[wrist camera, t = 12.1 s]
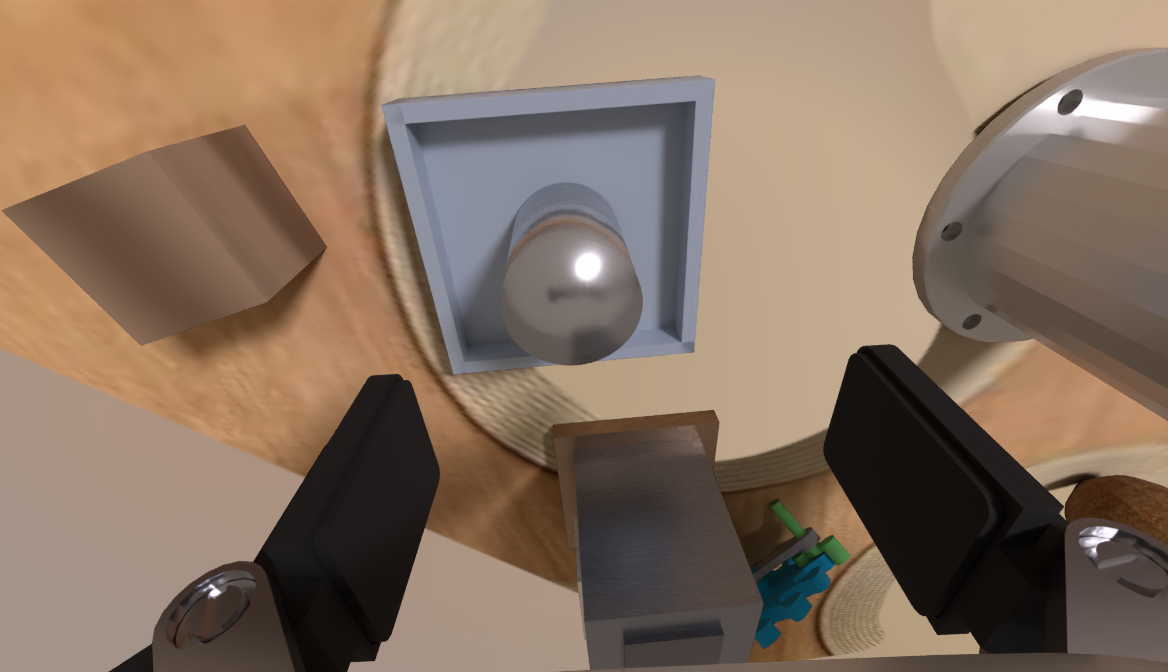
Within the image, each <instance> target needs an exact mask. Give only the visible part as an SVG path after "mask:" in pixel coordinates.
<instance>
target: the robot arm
mask: <svg viewBox="0 0 1168 672" xmlns="http://www.w3.org/2000/svg"><path fill="white" fill-rule="evenodd" d="M912 259H913V280H914V284H915V287H916V290H917V294H918V297H919V299H920V300H921V302H922V303H923V305H924V306H925V308H926V309H927V311H928V312H929V313H930V314H931V315H933V316H934V317H935V318H936V319H938V321H940V322H941V323H942V324H944V325H945V326H946V327H948V328H949V329H951V330H952V331H954V332H955V333H957V334H959V335H961V336H964V337H968V338H971V339H974V340H978V341H985V342H997V343H1004V342H1015V341H1025V340H1029V339H1035V340H1037V341H1038V342H1040V343H1042V344H1043V345H1045V346H1046V347H1048V348H1050V349H1051V350H1053V351H1055V352H1056V353H1058V354H1059V355H1061V356H1063V357H1064V358H1066V359H1068V360H1069V361H1071V362H1072V363H1074V364H1076V365H1077V366H1079V367H1081V368H1082V369H1084V370H1086V371H1087V372H1089V373H1090V374H1092V375H1094V376H1095V377H1097V378H1099V379H1100V380H1102V381H1103V382H1105V383H1107V384H1108V385H1110V386H1112V387H1113V388H1115V389H1116V390H1118V391H1120V392H1121V393H1123V394H1125V395H1126V396H1128V397H1129V398H1131V399H1133V400H1134V401H1136V402H1138V403H1139V404H1141V405H1142V406H1144V407H1146V408H1147V409H1149V410H1151V411H1152V412H1154V413H1156V414H1157V415H1159V416H1160V417H1162V418H1164V419H1165V420H1167V421H1168V48H1144V49H1131V50H1122V51H1119V52H1115V53H1111V54H1108V55H1104V56H1101V57H1097V58H1094V59H1090V60H1088V61H1086V62H1083V63H1081V64H1079V65H1077V66H1075V67H1072V68H1070V69H1068V70H1066V71H1064V72H1062V73H1059V74H1057V75H1055V76H1053V77H1052V78H1050V79H1049V80H1047V81H1046V82H1044V83H1042V84H1041V85H1039V86H1038V87H1036V88H1034V89H1033V90H1031V91H1030V92H1028V93H1027V94H1025V95H1023V96H1022V97H1021V98H1019V99H1018V100H1017V101H1016V102H1014V103H1013V104H1012V105H1011V106H1010V107H1008V108H1007V109H1006V110H1005V111H1003V112H1002V113H1001V114H1000V115H999V116H997V117H996V118H995V119H994V120H992V121H991V122H990V123H989V124H988V125H987V126H986V127H985V128H984V129H983V131H982V132H981V133H980V134H979V135H978V136H977V137H976V138H975V139H974V140H973V141H972V142H971V143H970V144H969V145H968V146H967V147H966V148H965V149H964V151H963V152H962V153H961V155H960V156H959V157H958V159H957V160H956V161H955V163H954V164H953V165H952V167H951V168H950V169H949V171H948V172H947V173H946V175H945V176H944V177H943V179H942V181H941V182H940V184H939V186H938V188H937V190H936V191H935V193H934V195H933V197H932V198H931V200H930V202H929V204H928V205H927V208H926V211H925V213H924V216H923V218H922V221H921V224H920V226H919V229H918V232H917V236H916V241H915V246H914V252H913V257H912ZM823 451H824V456H825V459H826V461H827V463H828V465H829V467H830V468H831V470H832V472H833V474H834V475H835V477H836V479H837V480H838V482H839V484H840V485H841V487H842V489H843V490H844V492H845V494H846V495H847V497H848V499H849V500H850V502H851V504H852V506H853V507H854V509H855V511H856V512H857V514H858V516H859V517H860V519H861V521H862V522H863V524H864V526H865V527H866V529H867V531H868V532H869V534H870V536H871V538H872V539H873V541H874V543H875V544H876V546H877V548H878V549H879V551H880V553H881V554H882V556H883V558H884V559H885V561H886V563H887V564H888V566H889V568H890V570H891V571H892V573H893V575H894V576H895V578H896V580H897V581H898V583H899V584H900V586H901V588H902V590H903V591H904V593H905V595H906V596H907V598H908V600H909V601H910V603H911V605H912V606H913V608H914V609H915V610H916V611H917V612H918V613H919V614H920V615H922V616H926V617H927V619H928V620H929V622H930V624H931V625H932V627H933V629H934V630H935V632H936V633H937V635H949V634H968V633H969V632H971V634H972V635H973V636H974V638H975V640H976V641H977V643H978V644H979V646H980V650H979V654H964V655H963V654H962V655H961V654H960V655H927V656H903V657H878V658H852V659H829V660H802V661H778V662H756V663H733V664H711V665H688V666H667V667H645V668H623V669H601V670H583V671H562V672H1168V546H1167V545H1165V544H1164V543H1162V542H1160V541H1159V540H1157V539H1155V538H1154V537H1152V536H1150V535H1148V534H1146V533H1144V532H1141V531H1139V530H1137V529H1135V528H1132V527H1130V526H1128V525H1124V524H1121V523H1118V522H1114V521H1111V520H1107V519H1099V518H1082V519H1076V520H1074V521H1073V522H1071V523H1070V524H1069V523H1068V522H1067V521H1066V520H1065V519H1064V518H1063V517H1062V516H1061V515H1060V514H1059V513H1060V511H1061V510H1062V509H1063V507H1064V506H1063V505H1062V504H1061V503H1060V502H1059V501H1058V500H1057V499H1056V498H1055V497H1054V496H1053V495H1051V494H1050V493H1049V492H1048V491H1047V490H1046V489H1045V488H1044V487H1043V486H1042V485H1041V484H1040V483H1039V482H1038V481H1037V480H1036V479H1035V478H1034V477H1033V476H1032V475H1031V474H1030V473H1028V472H1027V471H1026V470H1025V469H1024V468H1023V467H1022V466H1021V465H1020V464H1019V463H1018V462H1017V461H1016V460H1015V459H1014V458H1013V457H1012V456H1011V455H1010V454H1009V453H1008V452H1007V451H1005V450H1004V449H1003V448H1002V447H1001V446H1000V445H999V444H998V443H997V442H996V441H995V440H994V439H993V438H992V437H991V436H990V435H989V434H988V433H987V432H986V431H985V430H983V429H982V428H981V427H980V426H979V425H978V424H977V423H976V422H975V421H974V420H973V419H972V418H971V417H970V416H969V415H968V414H967V413H966V412H965V411H964V410H963V409H962V408H960V407H959V406H958V405H957V404H956V403H955V402H954V401H953V400H952V399H951V398H950V397H949V396H948V395H947V394H946V393H945V392H944V391H943V390H942V389H941V388H940V387H938V386H937V385H936V384H935V383H934V382H933V381H932V380H931V379H930V378H929V377H928V376H927V375H926V374H925V373H924V372H923V371H922V370H921V369H920V368H919V367H918V366H917V365H915V364H914V363H913V362H912V361H911V360H910V359H909V358H908V357H907V356H906V355H905V354H904V353H903V352H902V351H901V350H900V349H899V348H898V347H896V346H894V345H890V344H888V345H872V346H863V347H861V348H860V349H859V350H858V351H857V353H854V354H853V355H851V356H850V358H849V361H848V364H847V367H846V371H845V374H844V378H843V381H842V384H841V388H840V391H839V394H838V398H837V401H836V405H835V408H834V412H833V415H832V418H831V421H830V425H829V428H828V432H827V435H826V438H825V442H824V447H823ZM439 477H440V470H439V465H438V462H437V459H436V456H435V453H434V450H433V447H432V444H431V441H430V438H429V435H428V432H427V429H426V426H425V423H424V420H423V417H422V414H421V411H420V408H419V405H418V402H417V399H416V396H415V393H414V390H413V387H412V384H411V382H410V381H408V380H403V378H402V377H401V375H399V374H389V375H373V376H370V377H369V378H368V379H367V381H366V382H365V384H364V386H363V387H362V389H361V390H360V392H359V394H358V395H357V397H356V399H355V400H354V402H353V403H352V405H351V407H350V408H349V410H348V412H347V413H346V415H345V416H344V418H343V420H342V421H341V423H340V424H339V426H338V428H337V429H336V431H335V433H334V434H333V436H332V437H331V439H330V441H329V442H328V443H327V445H326V446H325V447H324V448H323V450H322V452H321V453H320V455H319V456H318V458H317V460H316V461H315V463H314V464H313V466H312V468H311V469H310V471H309V472H308V474H307V476H306V477H305V479H304V481H303V482H302V484H301V485H300V487H299V489H298V490H297V492H296V493H295V495H294V497H293V498H292V500H291V502H290V503H289V505H288V507H287V508H286V510H285V511H284V513H283V515H282V516H281V518H280V519H279V521H278V522H277V524H276V526H275V527H274V529H273V531H272V532H271V534H270V535H269V537H268V539H267V540H266V542H265V543H264V545H263V547H262V548H261V550H260V552H259V553H258V555H257V557H256V558H255V560H254V561H253V562H248V561H247V562H246V561H237V562H234V563H230V564H225V565H222V566H220V567H218V568H215V569H214V570H211V571H209V572H207V573H205V574H204V575H202V576H201V577H199V578H198V579H196V580H195V581H193V582H192V583H190V584H189V585H188V586H187V587H186V588H185V589H183V590H182V591H181V592H180V593H179V594H178V595H177V596H176V597H175V598H174V599H173V600H172V601H171V603H170V604H169V605H168V607H167V608H166V609H165V610H164V611H163V613H162V615H161V617H160V618H159V620H158V623H157V624H156V626H155V628H154V634H153V641H152V644H151V645H149V646H148V647H146V648H145V649H143V650H142V651H140V652H139V653H137V654H135V655H134V656H132V657H131V658H129V659H128V660H126V661H125V662H123V663H122V664H120V665H119V666H117V667H115V668H114V669H112V670H111V671H109V672H347V671H348V668H349V665H350V662H364V661H375V659H376V656H377V653H378V650H379V647H380V644H381V642H385V641H387V640H388V639H389V637H390V636H391V634H392V631H393V628H394V625H395V621H396V618H397V615H398V612H399V609H400V605H401V602H402V599H403V596H404V593H405V589H406V586H407V583H408V580H409V577H410V573H411V570H412V567H413V564H414V561H415V557H416V554H417V551H418V547H419V544H420V541H421V538H422V535H423V532H424V528H425V525H426V522H427V519H428V516H429V512H430V509H431V506H432V503H433V499H434V496H435V493H436V490H437V487H438V483H439Z"/></svg>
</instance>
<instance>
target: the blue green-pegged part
mask: <svg viewBox="0 0 1168 672" xmlns="http://www.w3.org/2000/svg"><path fill="white" fill-rule="evenodd" d="M770 508H771V509H772V510H773V511H774V512H775V514H776V515H777V516H778V517H779V518H780V520H781V521H782V522H783V523H784V524H785V525H786V527H787V528H788V529H789V530H790V531H791V532H792V534H793V535H794V537H793V538H792V539H790V540H789V541H788V542H786V543H785V544H783V545H782V546H781V547H779V548H778V549H776V550H775V551H774V552H772V553H771V554H770V555H768V556H767V557H765V558H764V559H763V560H761V561H760V562H759V563H757V564H756V565H754V566H753V567H752V568H750V569H751V572H752V574H753V577H754V580H755V582H756V585H757V587H758V590H759V593H760V595H761V598H762V600H763V603H764V604H763V608H762V612H761V615H760V619H759V623H758V627H757V630H756V634H755V639H756V640H757V642H758V643H759V644H760V646H761V647H762V648H763V649H766V648H767V647H768V646H769V645H771V644H772V643H773V642H774V641H775V640H776V639H778V637H779V636H780V632H779V631H778V629H777V628H776V627H775V625H774V624H775V623H776V622H778V621H781V620H785V619H792V620H794V621H800V620H802V619H803V618H804V617H805V616H806V615H807V613H808V612H809V610H810V609H811V607H812V605H811V604H810V603H809V601H808V600H807V599H806V598H807V597H808V596H811V595H813V594H816V593H820V592H822V591H824V590H826V589H827V588H828V587H829V584H830V578H829V577H828V576H827V574H826V573H825V572H827V571H828V570H830V569H831V568H832V567H833V566H834V565H835V564H836V565H840V564H842V563H844V562H845V561H847V560H848V558H849V557H850V554H849V553H848V552H847V550H846V549H845V548H844V547H843V546H842V545H841V544H840V543H839V541H838V540H837V539H836V538H835V537H834V536H833V535H831V536H829V537H827V538H825V539H824V540H823V541H822V542H820V543H818V542H819V540H820V537H819V535H818V534H817V533H816V532H815V531H814V530H813V529H812V528H811V527H809V528H807V529H805V530H804V529H803V528H802V527H801V525H800V524H799V523H798V522H797V521H796V520H795V518H794V517H793V516H792V515H791V514H790V513H789V512H788V510H787V509H786V508H785V507H784V506H783V505H782V503H781V502H780V501H777V502H776V503H774V504H773V505H772V506H771V507H770ZM827 554H828V555H827ZM833 561H834V562H833ZM781 563H782V564H783V565H782V566H781V567H780V568H779V569H777V570H775V571H774V570H773V569H774V568H776V567H777V566H779V565H780V564H781ZM749 567H750V566H749Z"/></svg>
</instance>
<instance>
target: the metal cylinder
mask: <svg viewBox="0 0 1168 672" xmlns="http://www.w3.org/2000/svg"><path fill="white" fill-rule="evenodd" d="M642 308H643V295H642V290H641V286H640V283H639V280H638V277H637V274H636V272H635V269H634V266H633V263H632V260H631V258H630V255H629V252H628V249H627V246H626V243H625V241H624V238H623V235H622V232H621V229H620V226H619V224H618V221H617V218H616V215H615V213H614V211H613V209H612V207H611V206H610V204H609V203H608V202H607V200H606V199H605V198H604V197H603V196H601V195H600V194H599V193H598V192H596V191H595V190H593V189H591V188H589V187H587V186H584V185H580V184H576V183H556V184H552V185H548V186H546V187H543V188H541V189H539V190H538V191H536V192H535V193H533V194H532V195H531V196H530V197H529V198H528V199H527V200H526V201H525V202H524V203H523V205H522V206H521V207H520V209H519V211H518V213H517V215H516V218H515V222H514V226H513V232H512V237H511V243H510V248H509V254H508V259H507V265H506V271H505V276H504V282H503V287H502V293H501V300H500V309H501V316H502V320H503V323H504V325H505V328H506V330H507V332H508V333H509V335H510V336H511V338H512V339H513V340H514V341H515V343H516V344H517V345H518V346H519V347H520V348H522V349H523V350H524V351H526V352H527V353H528V354H530V355H532V356H534V357H536V358H538V359H540V360H543V361H546V362H549V363H553V364H558V365H581V364H587V363H591V362H595V361H598V360H600V359H603V358H605V357H607V356H609V355H611V354H612V353H614V352H615V351H617V350H618V349H619V348H620V347H622V346H623V345H624V344H625V343H626V342H627V341H628V340H629V338H630V337H631V336H632V334H633V333H634V331H635V329H636V328H637V326H638V323H639V321H640V318H641V314H642Z"/></svg>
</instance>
